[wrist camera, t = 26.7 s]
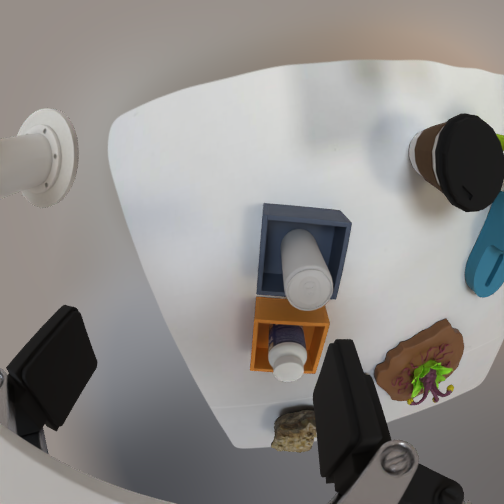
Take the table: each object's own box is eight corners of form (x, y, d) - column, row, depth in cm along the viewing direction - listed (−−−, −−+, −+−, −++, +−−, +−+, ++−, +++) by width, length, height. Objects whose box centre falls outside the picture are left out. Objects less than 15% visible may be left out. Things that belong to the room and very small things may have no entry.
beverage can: (282, 263, 38) (286, 314, 27) (278, 229, 36) (282, 271, 25) (316, 259, 37) (334, 308, 26) (314, 225, 36) (334, 265, 25)
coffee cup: (434, 205, 34) (484, 232, 23) (380, 165, 32) (426, 179, 21) (463, 145, 30) (517, 155, 18) (412, 100, 28) (464, 91, 17)
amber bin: (252, 346, 45) (249, 370, 40) (256, 296, 41) (254, 319, 36) (311, 350, 45) (315, 373, 39) (323, 300, 41) (330, 323, 35)
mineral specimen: (314, 434, 56) (317, 466, 47) (263, 429, 56) (262, 463, 47) (339, 402, 51) (346, 439, 41) (282, 396, 50) (282, 437, 41)
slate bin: (258, 273, 39) (256, 294, 34) (263, 203, 35) (262, 214, 30) (328, 279, 39) (336, 299, 34) (340, 210, 35) (352, 223, 30)
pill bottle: (265, 316, 42) (264, 362, 33) (300, 311, 41) (307, 355, 32) (272, 342, 44) (271, 387, 35) (304, 337, 43) (310, 382, 34)
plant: (465, 355, 45) (486, 388, 35) (397, 402, 51) (409, 439, 41) (448, 304, 40) (478, 342, 30) (363, 364, 46) (378, 410, 35)
